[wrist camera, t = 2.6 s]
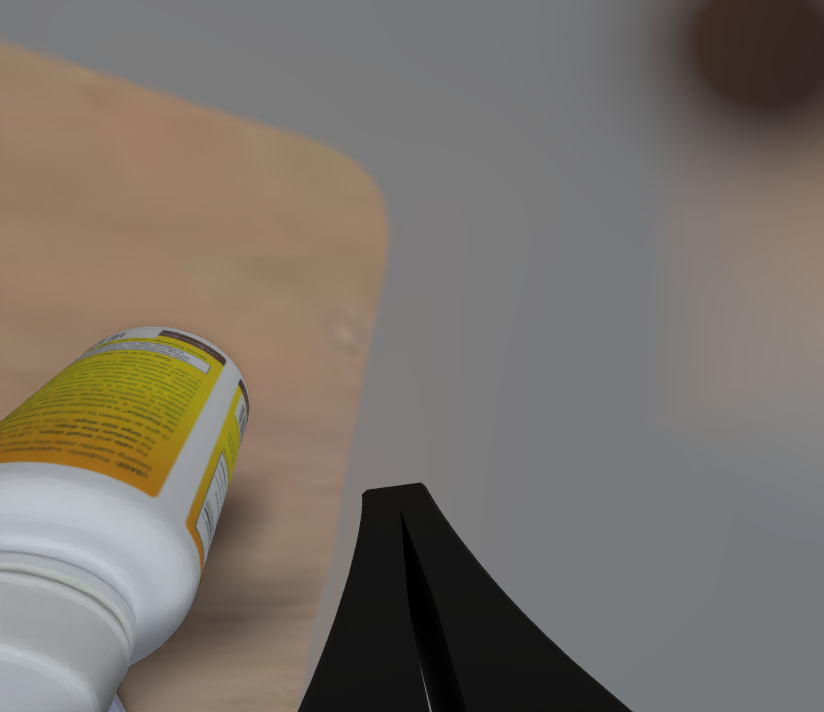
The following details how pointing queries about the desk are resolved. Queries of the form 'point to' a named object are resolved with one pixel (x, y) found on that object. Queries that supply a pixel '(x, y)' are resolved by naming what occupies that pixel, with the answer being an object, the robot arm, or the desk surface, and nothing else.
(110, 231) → the desk surface
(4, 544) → the supplement bottle
